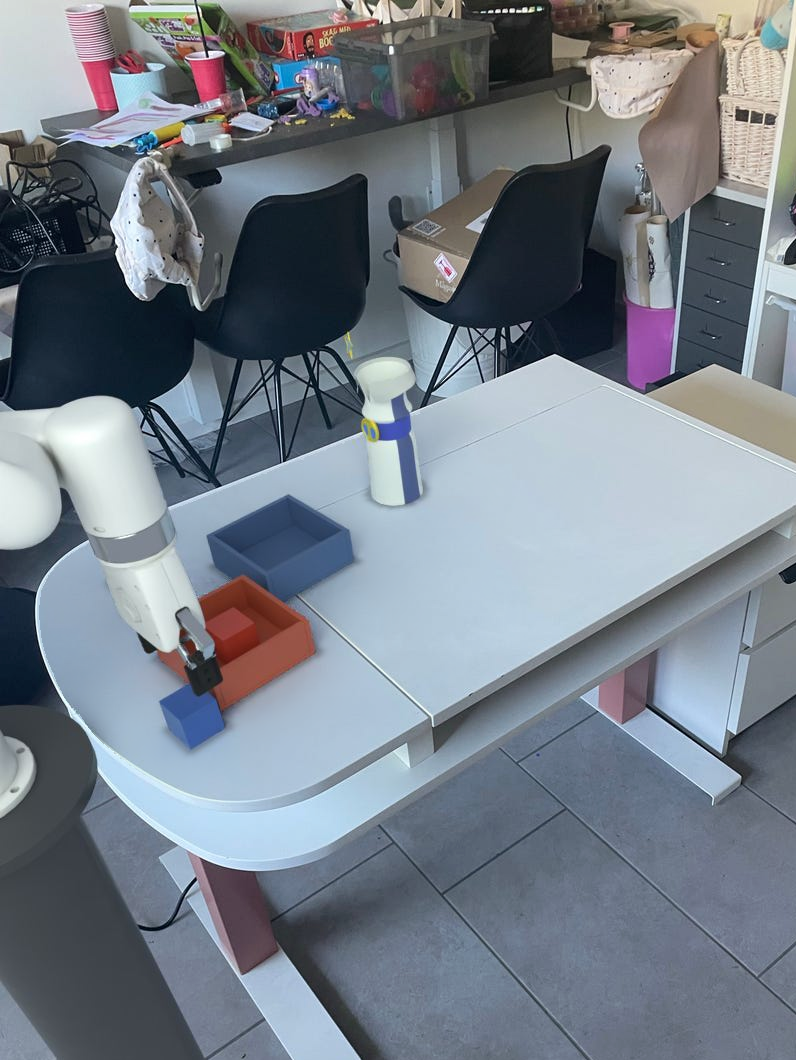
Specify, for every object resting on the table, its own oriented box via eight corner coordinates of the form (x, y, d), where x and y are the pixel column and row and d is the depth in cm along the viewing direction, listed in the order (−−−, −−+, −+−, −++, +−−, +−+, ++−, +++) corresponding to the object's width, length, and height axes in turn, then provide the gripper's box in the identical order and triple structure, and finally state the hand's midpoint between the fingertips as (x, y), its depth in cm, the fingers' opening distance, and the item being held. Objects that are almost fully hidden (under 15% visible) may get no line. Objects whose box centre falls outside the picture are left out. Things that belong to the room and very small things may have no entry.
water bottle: (394, 514, 134) (373, 346, 118) (357, 493, 139) (332, 329, 123) (437, 491, 138) (422, 326, 122) (400, 471, 143) (381, 310, 127)
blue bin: (273, 608, 119) (265, 575, 116) (214, 566, 126) (205, 535, 123) (354, 561, 126) (349, 529, 123) (294, 524, 133) (288, 493, 130)
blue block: (190, 749, 101) (180, 721, 98) (169, 729, 103) (158, 701, 100) (225, 727, 103) (216, 699, 100) (203, 708, 106) (193, 680, 103)
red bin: (221, 711, 105) (210, 678, 102) (159, 658, 113) (147, 625, 109) (316, 652, 112) (309, 619, 109) (251, 606, 119) (243, 573, 116)
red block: (231, 669, 110) (222, 640, 107) (210, 652, 112) (201, 624, 109) (262, 650, 112) (254, 622, 109) (241, 634, 114) (233, 606, 111)
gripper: (51, 516, 89) (110, 649, 101) (143, 588, 80) (197, 726, 91) (121, 482, 93) (171, 614, 104) (217, 547, 83) (261, 685, 95)
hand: (183, 666), depth 98 cm, fingers open, 9 cm apart
